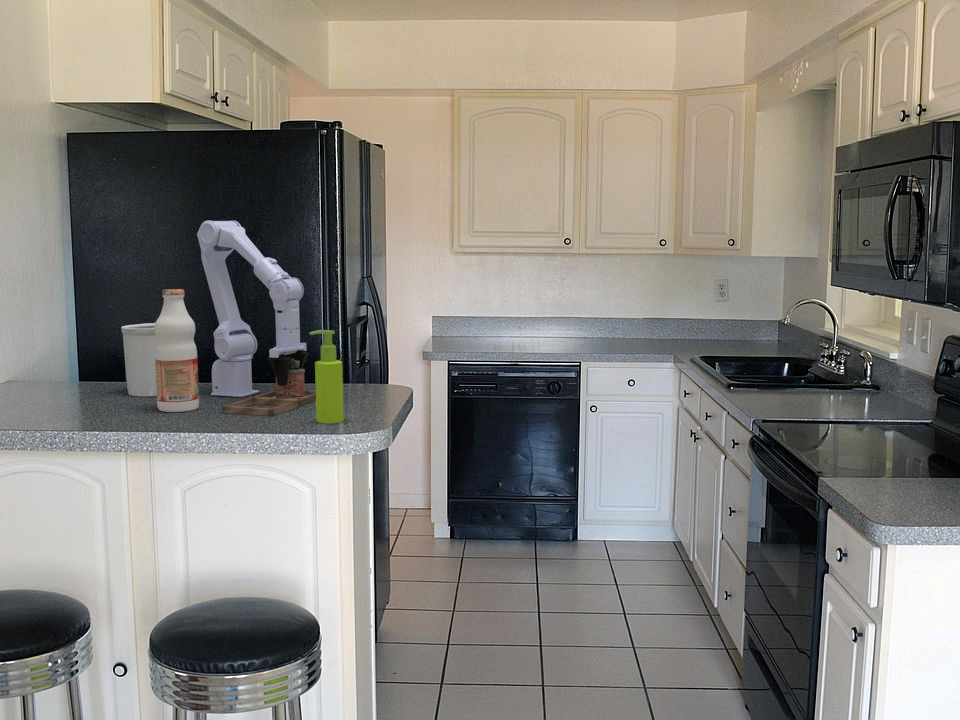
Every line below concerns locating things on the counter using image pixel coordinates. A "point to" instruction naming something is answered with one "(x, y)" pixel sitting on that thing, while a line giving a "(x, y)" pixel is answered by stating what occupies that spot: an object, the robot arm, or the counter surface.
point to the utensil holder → (140, 359)
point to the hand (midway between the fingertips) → (289, 383)
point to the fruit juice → (176, 356)
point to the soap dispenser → (328, 382)
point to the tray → (268, 399)
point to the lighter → (292, 383)
